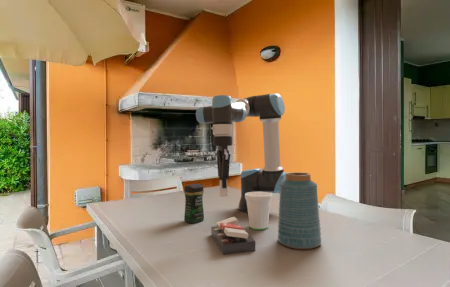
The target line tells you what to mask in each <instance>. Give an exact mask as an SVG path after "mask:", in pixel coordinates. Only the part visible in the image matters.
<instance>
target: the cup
mask: <svg viewBox="0 0 450 287" xmlns="http://www.w3.org/2000/svg"><path fill="white" fill-rule="evenodd" d="M245 199H246V201H247V209H248V212H247V215H248V223H249V224H248V225H249V228H250V229H251V230H255V231H264V230H268V228H269V222H270V221H269V219H270V218H269V217H270V208H271V206H270V205H271V200H272V199H273V193H269V192H248V193H245Z"/></svg>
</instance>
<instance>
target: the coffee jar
mask: <svg viewBox="0 0 450 287" xmlns="http://www.w3.org/2000/svg"><path fill="white" fill-rule="evenodd" d="M204 191H205V190H204V185H203V184H201V183H192V184H191V183H190V184H187V185H186V184H185V186H184V190H183V192H184V193H183V194H184V197H185V205H184V206H185V207H184V222H186V223H188V224H189V223H190V224H196V223H199V222H202V221H204V220H205V212H204V203H203V195H204V193H205V192H204Z"/></svg>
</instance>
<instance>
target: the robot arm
mask: <svg viewBox="0 0 450 287" xmlns="http://www.w3.org/2000/svg"><path fill="white" fill-rule="evenodd" d="M285 110H286V109H285V102H284V100H283V97H282V96H281V95H280V93H268V94H267V93H266V94H261V95H259V94H258V95H252V96H248V97H244V98H243V99H242V98H241V99H238V100H236V101H235V102H233V101H232V97H231V96H230V95H224V94H222V95H221V94H220V95H214V96H213V97H212V101H211V105H208V106H200V107H198V108H197V109H196V111H195V118H196V122H198V123H199V124H212V127H211V130H212V135H213V137H212V145H213V146H214V147H217V151H216V154H215V155H216V163H217V164H216V165H217V176H218V180H219V197H221V198H222V197H228V195H229V194H228V179H229V178H230V161H231V160H230V159H231V154H230V151H229V147H231V146H232V145H233V136H232V135H233V124H232V123H241V122H242V123H243V122H244V121H245V120H246V118H247V117H252V118H253V117H254V118H256V117H257V118H259V121H260V122H261V123H262V136H263V140H262V141H263V157H264V158H263V159H264V166H263V167H262V168H252V169H251V168H250V169H244V170H242V171H241V172H240V193H241V194H240V195H241V196H240V198H239V202H238V211H241V212H244V213H248V209H247V201H246V199H245V193H248V192H269V193H271V194H280V183H281V182H283V181H284V180H286V173H287V172H285V170H284V167H283V166H282V164H281V149H280V148H281V147H280V144H281V142H280V129H279V128H280V126H279V124H280V123H279V122H280V121H281V120H282V116H283V115H284V114H285Z"/></svg>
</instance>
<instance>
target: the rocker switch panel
mask: <svg viewBox="0 0 450 287" xmlns="http://www.w3.org/2000/svg"><path fill="white" fill-rule="evenodd" d="M235 225H240V224H239V223H237V224H235ZM210 229H211V230H210V232H211V237H212V239H213V240H214V241H215V244H216V245H217V247H218V249H219V251H220V252H221V254H222V255H223V256H226V255H231V254H240V253H249V252H255V251H256V240H254V238H253V237H251V235H250V234H249V233H248V238H240V237H232V236H227V235H226V234H225V233H224V230H222V229H219V228H218V226H217V225H216V226H211V227H210ZM243 230H245V229H244V228H243Z"/></svg>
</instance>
